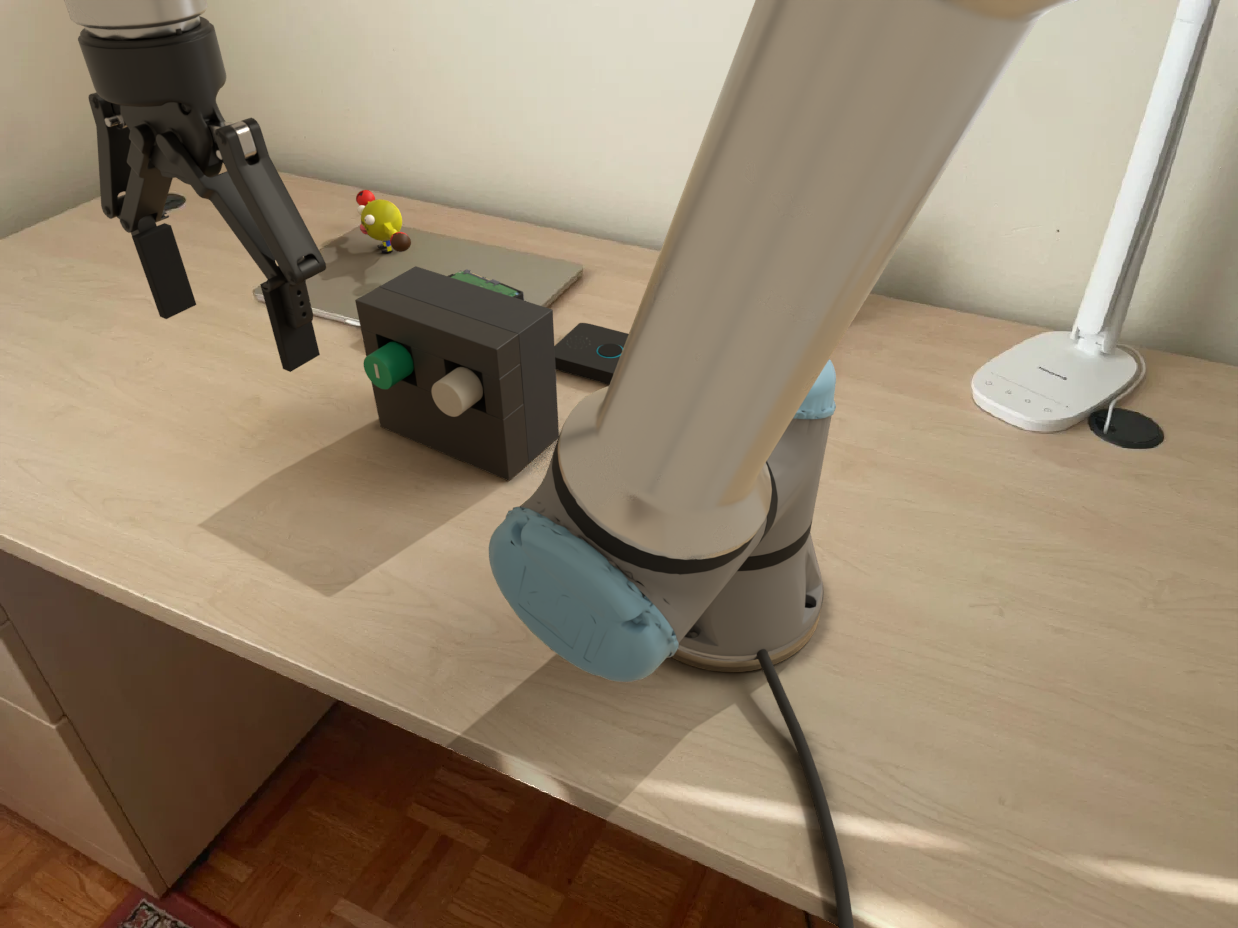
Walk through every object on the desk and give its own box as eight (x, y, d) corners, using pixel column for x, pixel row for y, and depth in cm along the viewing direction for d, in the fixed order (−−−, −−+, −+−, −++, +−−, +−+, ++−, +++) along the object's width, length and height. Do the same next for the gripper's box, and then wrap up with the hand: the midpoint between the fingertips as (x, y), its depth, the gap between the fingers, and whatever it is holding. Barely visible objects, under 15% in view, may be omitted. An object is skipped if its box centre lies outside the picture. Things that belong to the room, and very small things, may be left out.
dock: (509, 481, 83) (496, 349, 74) (380, 426, 90) (354, 299, 81) (559, 437, 88) (552, 309, 80) (433, 388, 95) (415, 265, 86)
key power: (393, 394, 81) (388, 362, 79) (366, 383, 83) (359, 351, 81) (416, 379, 83) (411, 347, 81) (388, 368, 85) (383, 336, 82)
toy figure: (347, 229, 126) (337, 181, 122) (385, 221, 128) (378, 174, 124) (385, 281, 114) (376, 231, 110) (427, 272, 116) (420, 222, 112)
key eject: (464, 422, 78) (459, 389, 76) (433, 410, 79) (428, 377, 77) (485, 405, 80) (481, 373, 78) (455, 394, 81) (451, 361, 79)
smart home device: (581, 319, 103) (747, 362, 96) (581, 332, 104) (745, 376, 97) (544, 353, 97) (717, 401, 90) (544, 367, 98) (716, 416, 91)
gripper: (342, 37, 51) (398, 361, 64) (78, -14, 61) (173, 273, 75) (232, 68, 46) (317, 412, 59) (-34, 7, 56) (89, 311, 70)
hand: (237, 335), depth 67 cm, fingers open, 13 cm apart
